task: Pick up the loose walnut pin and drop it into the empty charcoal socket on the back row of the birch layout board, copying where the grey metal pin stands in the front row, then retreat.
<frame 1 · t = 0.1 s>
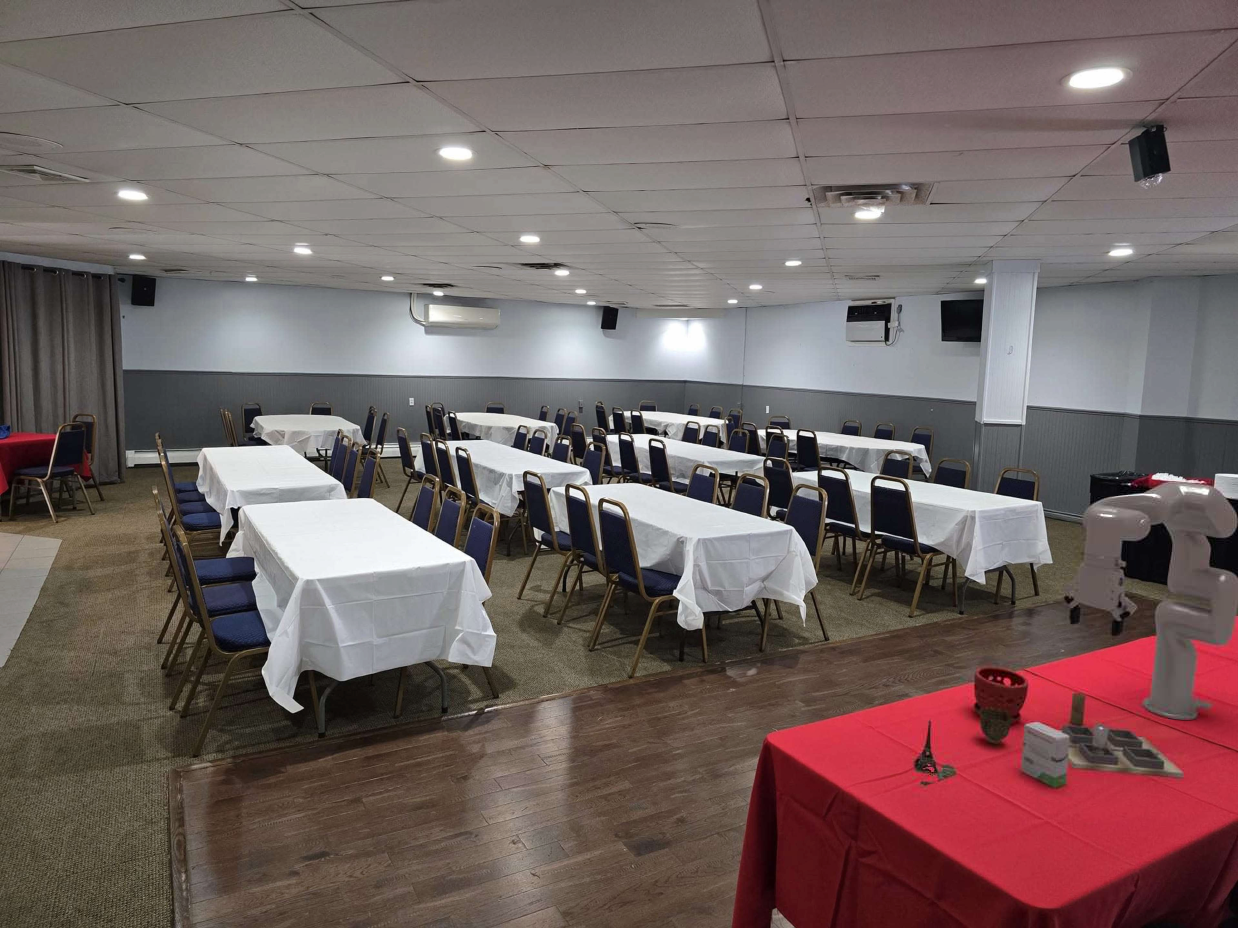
hand: (1094, 629, 193), 31 cm above the table, tool pointing down, fingers open, 9 cm apart
cup: (993, 743, 199), on the table
plant pot: (997, 717, 214), on the table
ink box: (1042, 778, 182), on the table
layout board: (1109, 754, 194), on the table
eiffel tower figurine: (927, 771, 185), on the table
walnut pin: (1076, 723, 211), on the table
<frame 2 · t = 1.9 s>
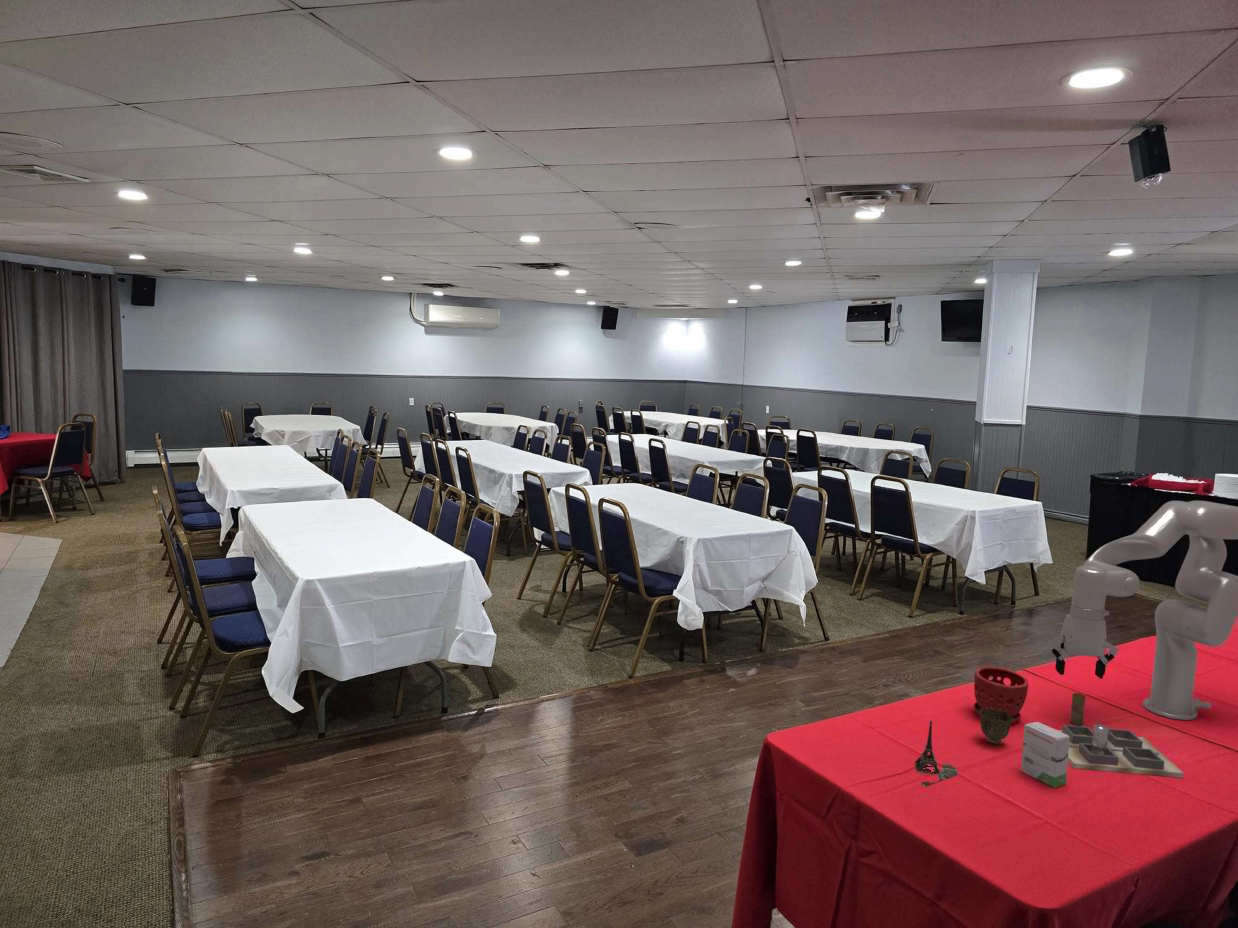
hand: (1079, 674, 209), 14 cm above the table, tool pointing down, fingers open, 9 cm apart
nothing on the table moved.
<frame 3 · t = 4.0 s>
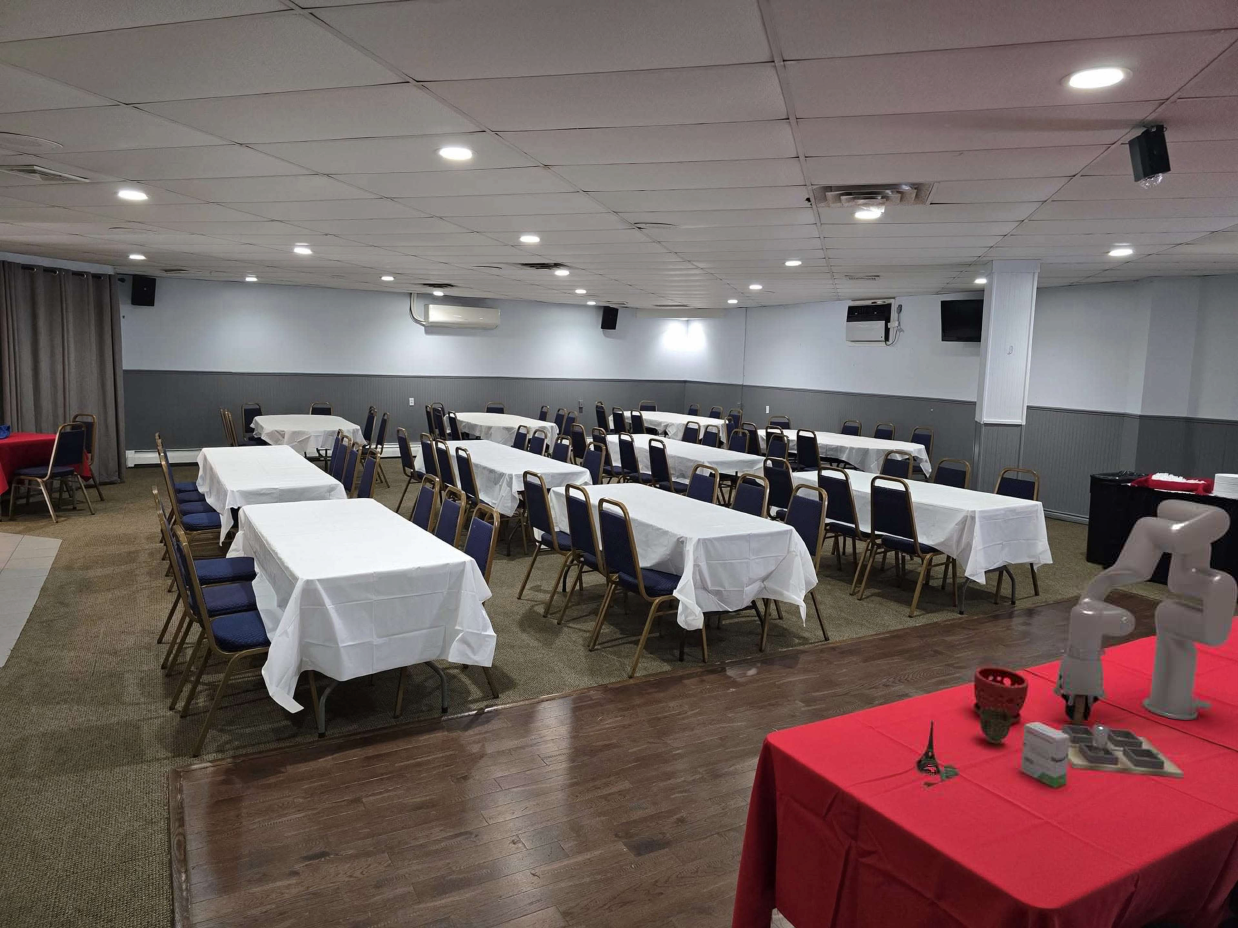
hand: (1076, 717, 210), 2 cm above the table, tool pointing down, fingers closed on walnut pin, 3 cm apart
walnut pin: (1076, 723, 211), on the table, touching gripper
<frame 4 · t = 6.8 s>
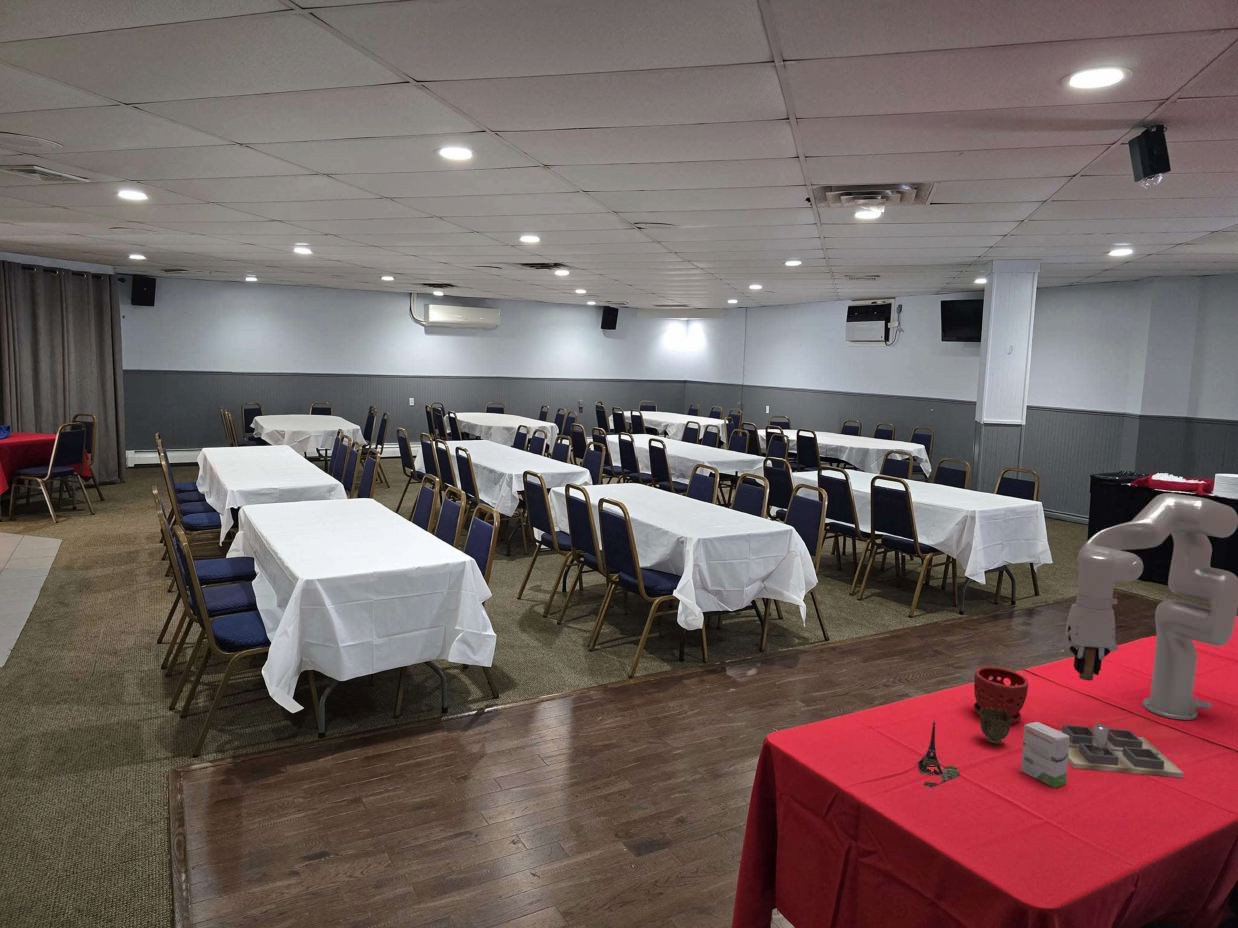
hand: (1086, 671, 197), 19 cm above the table, tool pointing down, fingers closed on walnut pin, 3 cm apart
walnut pin: (1086, 678, 197), point 17 cm above the table, touching gripper
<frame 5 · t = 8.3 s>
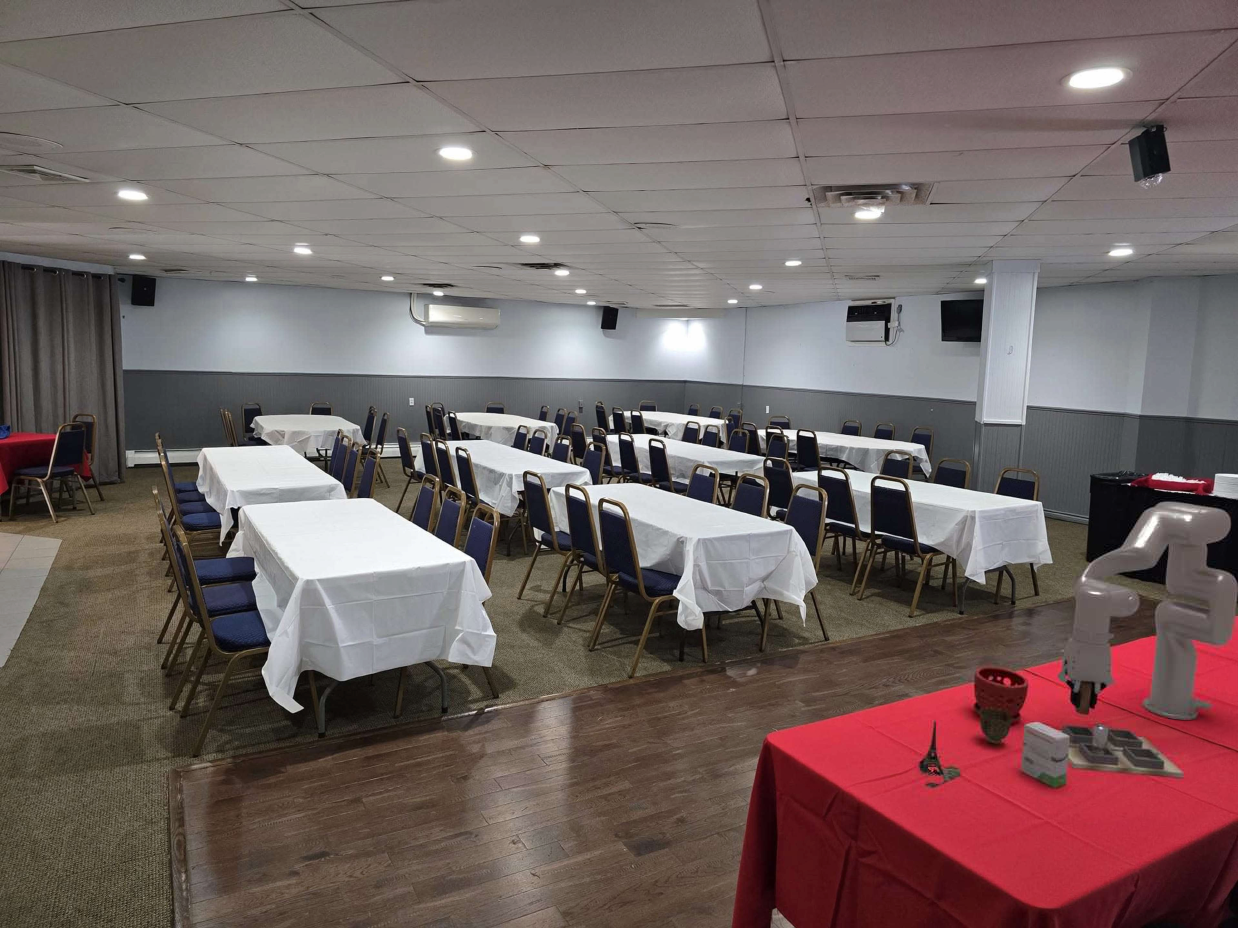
hand: (1082, 705, 198), 10 cm above the table, tool pointing down, fingers closed on walnut pin, 3 cm apart
walnut pin: (1082, 711, 198), point 8 cm above the table, touching gripper
when the fingers open (6 cm above the table, at t = 9.8 s): walnut pin drops 3 cm, resting on layout board.
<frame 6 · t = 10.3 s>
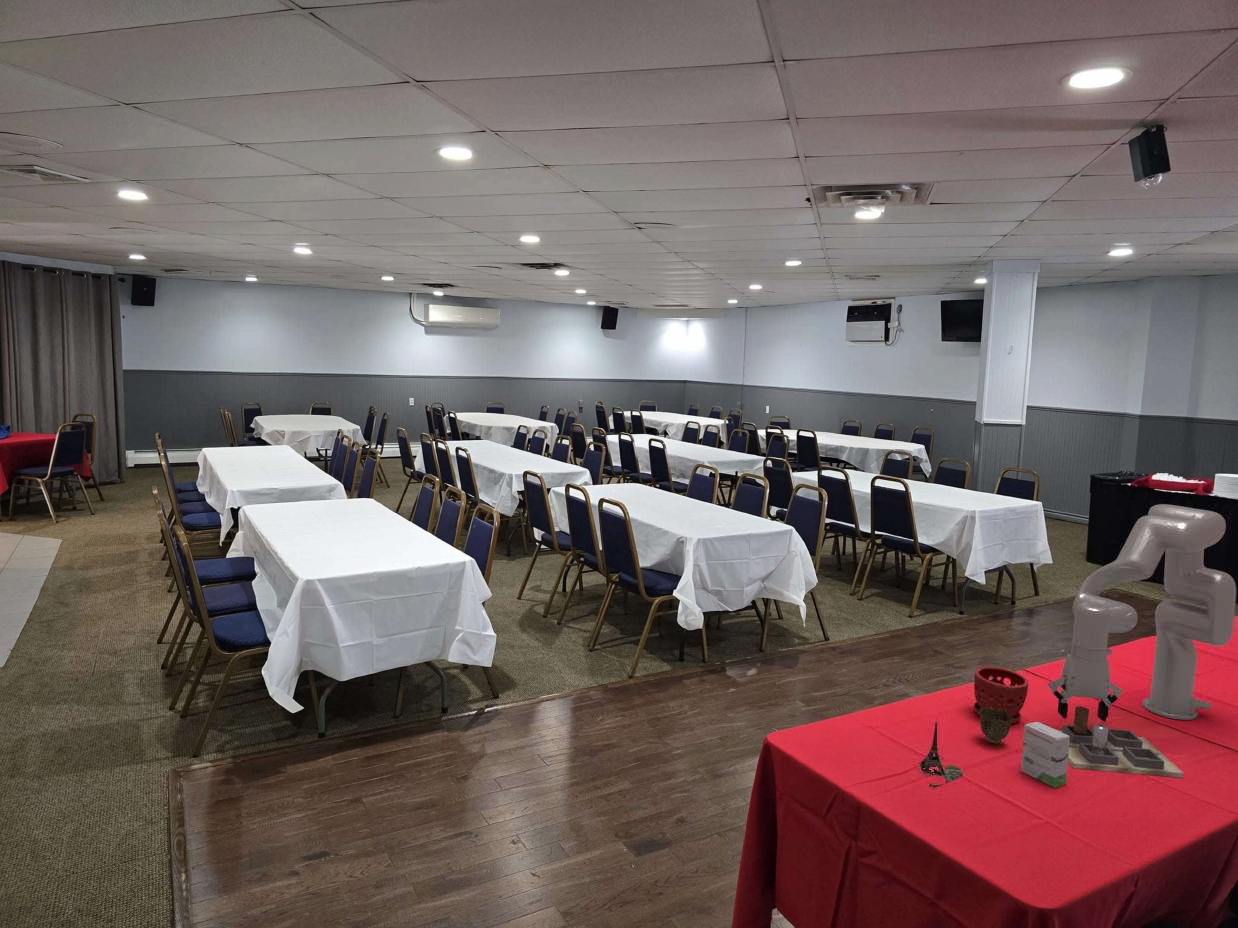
hand: (1082, 717, 199), 7 cm above the table, tool pointing down, fingers open, 8 cm apart
walnut pin: (1079, 738, 199), point 1 cm above the table, touching layout board
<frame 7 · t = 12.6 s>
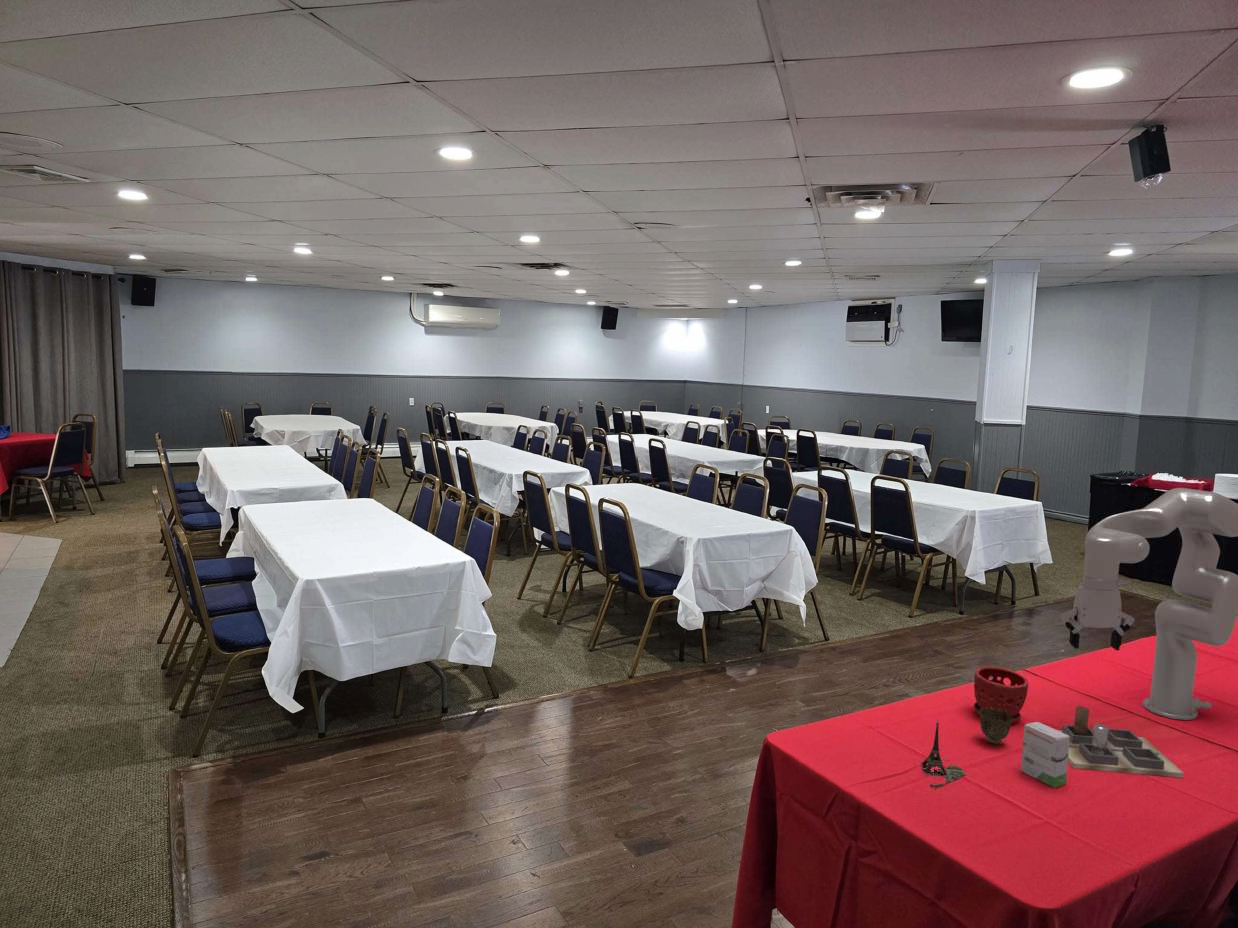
hand: (1094, 647, 201), 24 cm above the table, tool pointing down, fingers open, 9 cm apart
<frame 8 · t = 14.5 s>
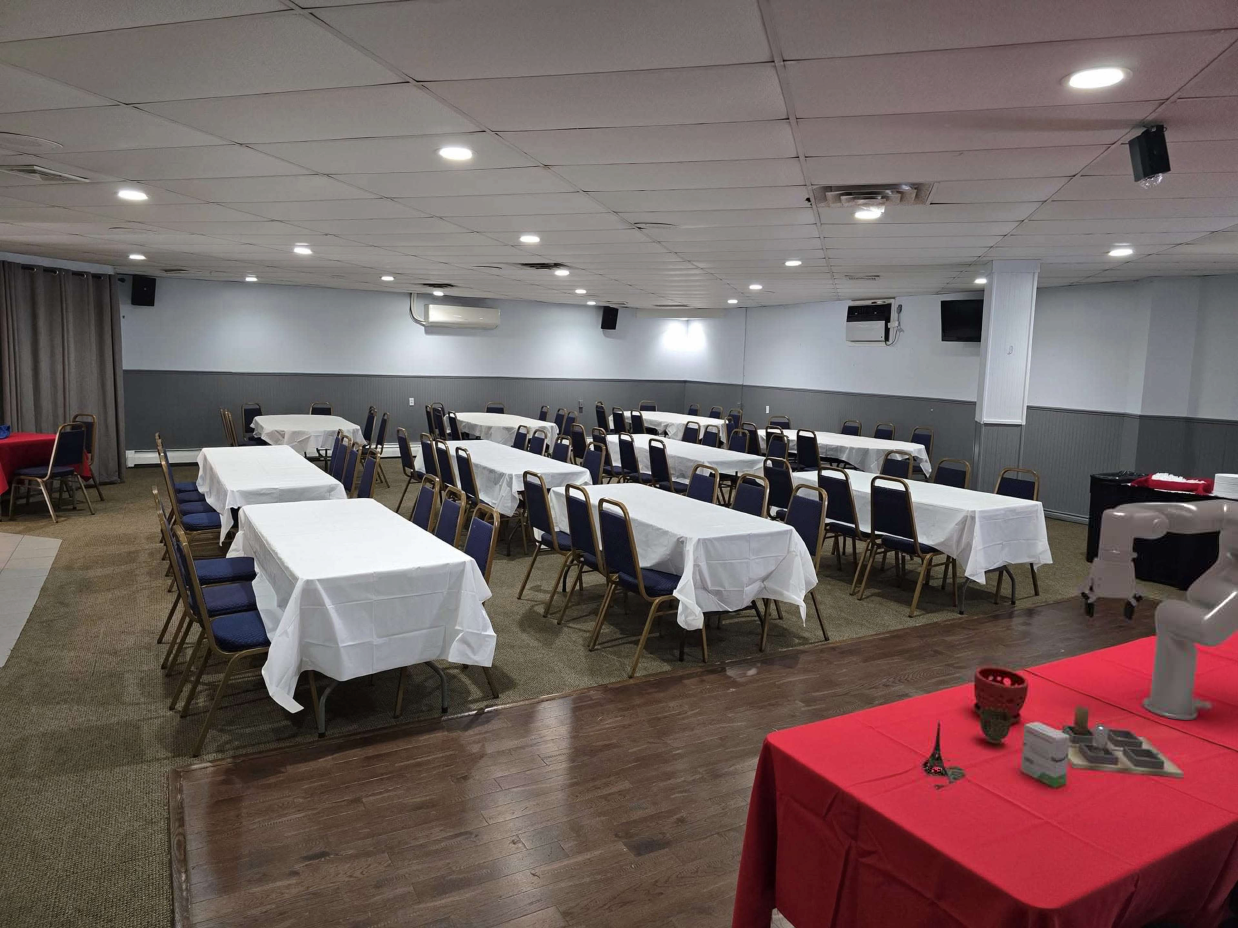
hand: (1108, 617, 212), 28 cm above the table, tool pointing down, fingers open, 9 cm apart
at the end: walnut pin 0.2 cm from the target spot on the layout board, point 1.2 cm above the layout board's base; walnut pin tilted 1°; the gripper is holding nothing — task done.
